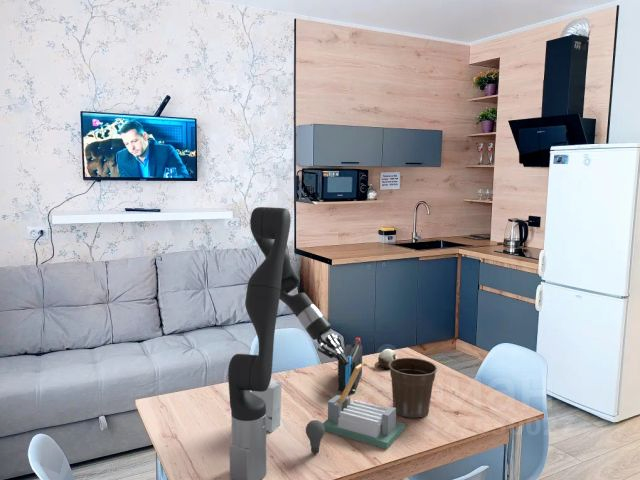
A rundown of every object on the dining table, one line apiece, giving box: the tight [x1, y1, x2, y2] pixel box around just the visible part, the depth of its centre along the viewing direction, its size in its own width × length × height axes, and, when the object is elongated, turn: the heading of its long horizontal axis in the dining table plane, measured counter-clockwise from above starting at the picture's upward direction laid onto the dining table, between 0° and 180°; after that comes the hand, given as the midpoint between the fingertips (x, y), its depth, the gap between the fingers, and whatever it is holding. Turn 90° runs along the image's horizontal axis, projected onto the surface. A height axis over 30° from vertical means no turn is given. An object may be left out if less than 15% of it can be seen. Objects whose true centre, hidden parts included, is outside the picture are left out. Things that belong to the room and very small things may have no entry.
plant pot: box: [389, 357, 438, 419], centre depth 182 cm, size 16×16×16 cm
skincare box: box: [251, 379, 283, 433], centre depth 171 cm, size 8×6×15 cm
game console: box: [337, 336, 363, 394], centre depth 206 cm, size 28×6×15 cm, turn 168°
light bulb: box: [305, 419, 326, 455], centre depth 155 cm, size 6×6×10 cm
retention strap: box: [338, 363, 363, 404], centre depth 170 cm, size 15×4×1 cm
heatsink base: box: [321, 394, 406, 450], centre depth 169 cm, size 14×22×8 cm, turn 59°
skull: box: [374, 348, 398, 373], centre depth 224 cm, size 12×10×10 cm
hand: (346, 364), depth 170 cm, fingers closed
